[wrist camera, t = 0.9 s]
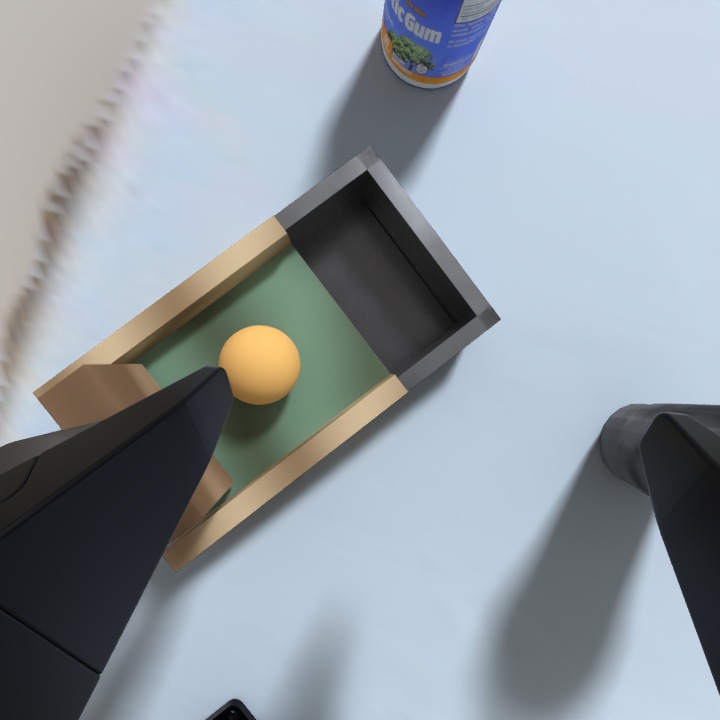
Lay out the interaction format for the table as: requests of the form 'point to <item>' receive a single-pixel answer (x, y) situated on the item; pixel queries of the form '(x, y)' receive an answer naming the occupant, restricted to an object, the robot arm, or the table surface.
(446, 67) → the pill bottle
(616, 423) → the beverage cup
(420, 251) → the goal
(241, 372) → the ball
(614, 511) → the table surface
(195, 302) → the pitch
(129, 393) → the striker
